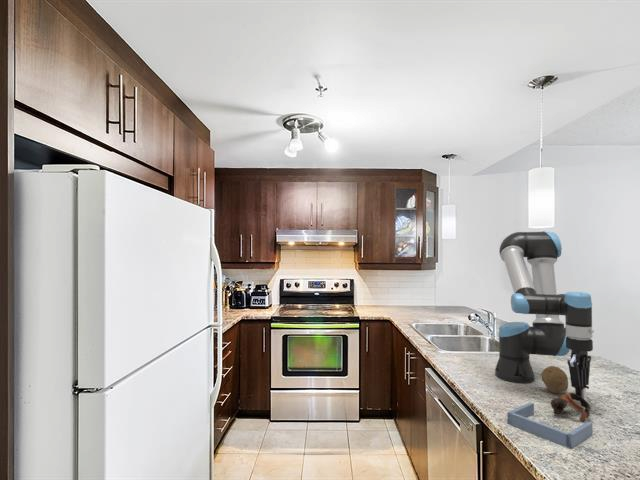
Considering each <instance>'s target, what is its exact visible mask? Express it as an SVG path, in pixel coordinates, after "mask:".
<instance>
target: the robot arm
mask: <svg viewBox="0 0 640 480" xmlns="http://www.w3.org/2000/svg"><path fill="white" fill-rule="evenodd" d="M562 249H563V248H562V244H561V240H560V237H559V236H558V235H557V233H555V232H553V231H517V232H514V233H513V232H512V233H511V234H509V235H507V236H506V237H505V238H504V239H503V241H502V242H501V243H500V246H499V256H500V259H501V260H502V261H503V262H504V265H505V267H506V268H505V269H506V270H507V274H508V277H509V281H510V283H511V287H512V291H513V293H512V294H511V296H510V307H511V310H512V312H513V313H515V314H521V315H522V314H523V315H535V319H534V320H533V321H532V322H531V323H532V326H531V325H530V324H529V323H528V322H523V321H512V322H511V321H510V322H504V323H502V324H500V325H499V327H498V345H499V347H498V349H499V350H498V352H499V356H498V361H497V362H496V366H495V369H494V370H495V371H494V373H495V374H494V375H495V377H497V378H498V379H499V380H504V381H506V382H510V383H515V384H516V383H518V384H529V383H534V382H535V380H536V379H535V378H536V377H535V373H534V370H533V366H532V364H531V361H530V360H531V359H530V355H536V356H537V355H539V356H550V357H551V356H552V357H564V356H566V355H568V354H569V352H570V351H571V352H570V359H568V360H567V362H566V363H567V365H568V366H567V367H568V370H569V375H570V376H569V379H570V383H571V387H572V388H574V393H575V394H577V395H579V396H580V397H582V398H583V399H584V400H585V401H587V391H586V390H588V389H590V386H589V384H590V370H591V361H592V356H591V355H589V353H588V352H592V351H593V350H594V342H593V340H592V338H593V333H594V332H595V330H594V329H593V303H592V296H591V294H590V293H588V292H582V291H567V292H565V293H558V292H557V283H556V275H555V273H556V272H555V263H557V262H558V258H560V257H561V255H562ZM525 258H526V260H527V263H528V264H529V265H530V266H531V274H532V277H531V274H530V271H529V270H528V265H527V264H526V261H525ZM557 293H558V294H557ZM560 316H565V317H564V318H565V319H564V320H565V323H564V322H563V321H562V320H561V319H560ZM574 401H575V402H576V403H577V404H579V405H580V406H581V403H580V401H579V400H578V401H577V400H574ZM582 407H583V406H582ZM583 408H584V409H583V410H585V407H583Z"/></svg>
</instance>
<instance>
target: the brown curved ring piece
mask: <svg viewBox="0 0 640 480" xmlns="http://www.w3.org/2000/svg"><path fill="white" fill-rule="evenodd" d="M575 400H577V401H578V400H579V401H580V403H581V406H580V405H579V404H577V403H576V402H575ZM567 406H570V407H571V408H573V409H574V410H576V411H577V412H578V413H580V417H579V421H581V422H585V421H586V420H587V419H588V418H589V417H590V411H591V410H592V407H591V405H590V404H589V402H588V401H587V400H586V401H585V400H584V399H583V398H582V397H580V396H579V395H577V394H575V392H567V393H566V394H561V395H559V397H556V398H553V399H552V400H551V402H550V407H551V409H552V410H553V413H554V414H558V415H562V414H563V413H564V410H565V408H567ZM582 406H583V407H585V409H584V408H583V407H582Z"/></svg>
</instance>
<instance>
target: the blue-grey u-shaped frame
mask: <svg viewBox="0 0 640 480" xmlns="http://www.w3.org/2000/svg"><path fill="white" fill-rule="evenodd" d="M506 413H507V414H506V415H507V417H506V418H507V425H509V426H512V427H515V428H518V429H520V430H523V431H524V432H528V433H531V434H533V435H535V436H538V437H541V438H543V439H545V440H548V441H551V442H553V443H555V444H558V445H560V446H563V447H566V448H568V449H570V450H572V449H574V448H575V447H577V446H578V445H580V444H581V443H583V442H584V441H586V440H587V439H589V438H590V437H592V436H593V435H594V434H593V432H594V431H593V429H594V427H593V422H591V421H586V422H584V423H583V424H581V425H579V426H577V427H576V428H574V429H573V430H570V431H569V432H567V431H564V430H560V429H558V428H555V427H554V426H550V425H547V424H544V423H542V422H539V421H537V420H534V419H532V418H529V417H531V416H533V415H535V404H534V403H533V402H528V403H525V404H523V405H521V406H519V407H516V408H514V409H512V410H509V411H507V412H506Z"/></svg>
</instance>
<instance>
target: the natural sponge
mask: <svg viewBox="0 0 640 480" xmlns="http://www.w3.org/2000/svg"><path fill="white" fill-rule="evenodd" d="M540 377H541V380H542V382H543V384H544V386H545V387H546V388H547V390H548V391H550V392H551V393H552V394H560V393H562V392H563V393H565V392H566V391H568V390H569V379H568V375H567V373H566V372H565V370H563V369H561V367H558V366H555V365H554V366H553V365H551V366H548V367H546V368H544V369H543V370H542V372H541V375H540Z"/></svg>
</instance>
